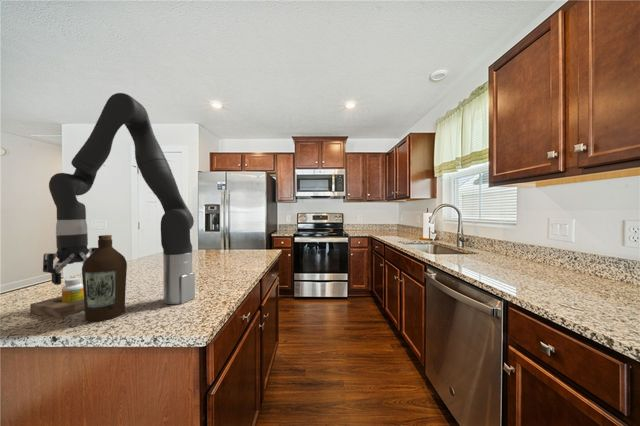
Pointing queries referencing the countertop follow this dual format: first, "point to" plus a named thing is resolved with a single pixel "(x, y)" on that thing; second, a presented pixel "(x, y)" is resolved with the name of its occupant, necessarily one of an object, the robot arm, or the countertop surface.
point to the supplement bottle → (72, 290)
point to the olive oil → (104, 282)
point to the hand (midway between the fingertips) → (73, 280)
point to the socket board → (57, 308)
